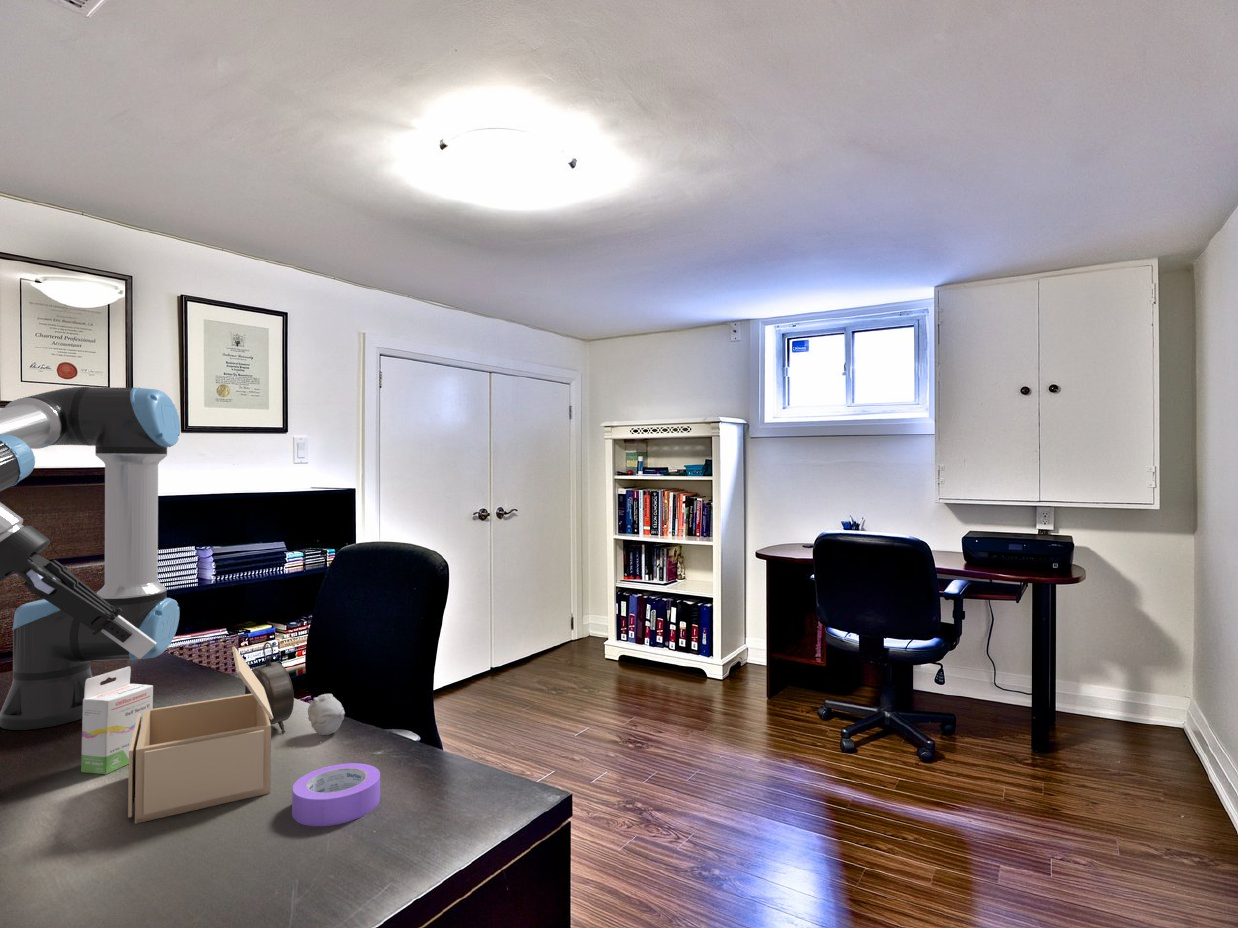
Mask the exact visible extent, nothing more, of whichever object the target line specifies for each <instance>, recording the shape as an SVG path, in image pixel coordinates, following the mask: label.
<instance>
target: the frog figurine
mask: <svg viewBox="0 0 1238 928" xmlns="http://www.w3.org/2000/svg"><path fill="white" fill-rule="evenodd" d="M345 714H346V712H345V709H344V707H343V705H342V703H341V702H340V701H339V700H338V699H337V698H336V697H335V696H334V695H333V694H332V693H324V694H320V695H318V696H317V697H315V696H314V697H313V699H312V701H311V702H310V703H309V706H308V708H307V715H308V718H307V719H308V721H309V722H310V725H311V727H312V729H313V730H314V731H315V733H317V734H319V735H321V736H328V735H331V734H333V733H335V732H336V731H338V730H339V729H340V727H341V725H342V722H343V720H344V719H345Z"/></svg>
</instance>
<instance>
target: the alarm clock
mask: <svg viewBox="0 0 1238 928" xmlns="http://www.w3.org/2000/svg"><path fill="white" fill-rule="evenodd" d="M267 645H269V647H270V649H271V654H270V656H266V655H267V654H266V652H265V649H266V646H267ZM262 647H263V648H262V653H263V656H264V660H265V664H262V665H259V666H256V667H253V668H252V669H251V670H252V672H253V673H254V675H255V676H256V677H257V679H258V680H259V682H260V683H261V684H262V686H263V687H264V690H265V693H266V696H267V699H268V702H269V705H270V709H271V712H272V715H273V719H272V720H271V719H270V718H269V720H270V724H271V726H272V725H275V724H277V725H278V727H279V729H280V730H281V733H282V734H284V733H286V730H285V725H284V721H287V720H288V719H289V718H290V717H291V716H292V713H293V709H294V707H295V706H294V705H295V694H294V687H293V683H292V680H291V677H290V674H289V672H288V670H287V669H286V667H285V666H284V665H283V664H282V663H280V662H277V661H274V662H272V661H271V660H272V658H273V656H274V655H273V654H274V646H273V644H272V643H271V642H270V641H269V642H268V641H267V642H265V643H264V644H263V646H262ZM246 694H252V693H251V692H250V690H249V689H248V687H247V686H246V685H245V684H244V695H246Z"/></svg>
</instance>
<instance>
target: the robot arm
mask: <svg viewBox="0 0 1238 928" xmlns="http://www.w3.org/2000/svg"><path fill="white" fill-rule="evenodd" d="M180 434H181V422H180V416H179V414H178V409H177V407H176V405H175V404H174V402H173V400H172V399H171V397H170V396H169V395H168V394H167V393H165V392H163V391H162V390H159V389H154V388H145V387H106V386H105V387H100V386H99V387H98V386H97V387H95V386H93V387H92V386H91V387H89V386H75V387H74V386H72V387H66V388H59V389H55V390H51V391H45V392H41V393H37V394H34V395H28V396H25V397H21V398H18V399H14V400H12V401H10V402H9V403H8V404H7V405H5V407H3V408H0V492H2V491H4V490H6V489H9V488H11V487H14V486H16V485H17V484H18V483H19V482H20V481H22V480H24V479H25V478H27V477H29V475H31V473H32V472H33V470H34V468H35V464H36V456H35V454H34V451H33V449H34V450H38V449H45V448H47V447H52V446H89V447H91V446H93V447H94V448H95V452H94V453H95V456H96V457H97V458H98V459H100V460H101V461H102V462H103V464H104V585H103V586H102V588H100V589H99V590H98V591H97V592H96V591H94V590H93V589H91V588H90V587H89V586H88V585H86V584H85V583H84V582H83V581H81V580H80V579H79V578H78V577H77V576H76V575H74V574H73V572H72V571H70V570H69V569H68V567H67V566H64V565H63V564H61V563H60V562H59V561H58V560H55V559H53V560H52V561H50V560H49V559H47V558H45V557H44V556H42V555H41V554H40V553H41V552H42V551H44V550H45V549H46V548H48V546H49V545H50V544H51V540H50V539H49V538H48V537H46V536H45V535H44V534H43V533H41V532H40V531H39V530H37V529H36V528H35V527H34V526H32V525H23V522H24V518H23V517H21V516H20V515H18V514H17V513H15V512H14V511H12V510H11V509H10V508H9V507H8V506H6V505H5V504H4V503H2V502H1V501H0V582H3V581H4V580H6V579H8V578H9V577H10V576H12V575H14V574H15V573H16V574H17V576H19V577H20V578H21V579H22V580H24V581H25V582H23V586H25V587H26V588H28V591H29V593H31V594H32V595H35V596H38V598H39V597H40V598H41V599H38V600H34V601H31V602H27V603H24V604H21V605H19V607H18V608H16V610H15V612H14V616H13V617H14V618H13V625H12V627H11V631H12V683H11V685H10V688H9V691H8V694H7V695H6V698H5V700H4V703H3V705H2V707H1V710H0V728H2V729H4V730H12V731H25V730H26V731H27V730H36V729H43V728H50V727H54V726H55V727H56V726H59V725H64V724H68V723H72V722H75V721H78V720H82V719H83V699H84V690H85V681H86V680H87V679H88V678H92V677H94V676H93V674H92V671H91V662H96V661H97V662H98V661H99V662H101V661H102V662H103V661H121V660H122V661H125V660H127V661H128V660H131V661H137V660H141V659H142V660H143V659H152V658H156V657H159V656H160V655H162V654H163V653H164V652H165V651H166V650H167V649H168V648H169V647H170V645H171V644H172V641H173V640H174V638H175V636H176V632H177V630H178V627H179V621H180V606H179V603H178V602H177V600H175V599H173V598H171V597H168V595H167V591H168V590H167V587H166V586H165V585H164V584H162V583H161V582H160V581H159V580H158V578H159V575H158V573H159V569H158V568H159V567H158V566H159V560H158V559H159V558H158V557H159V554H158V553H159V552H158V551H159V546H158V545H159V464H160V463H161V461H163V460H164V459H165V458H166V457H168V448H171V447H173V446H175V445H176V444H177V443H178V441H179V436H180Z"/></svg>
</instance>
